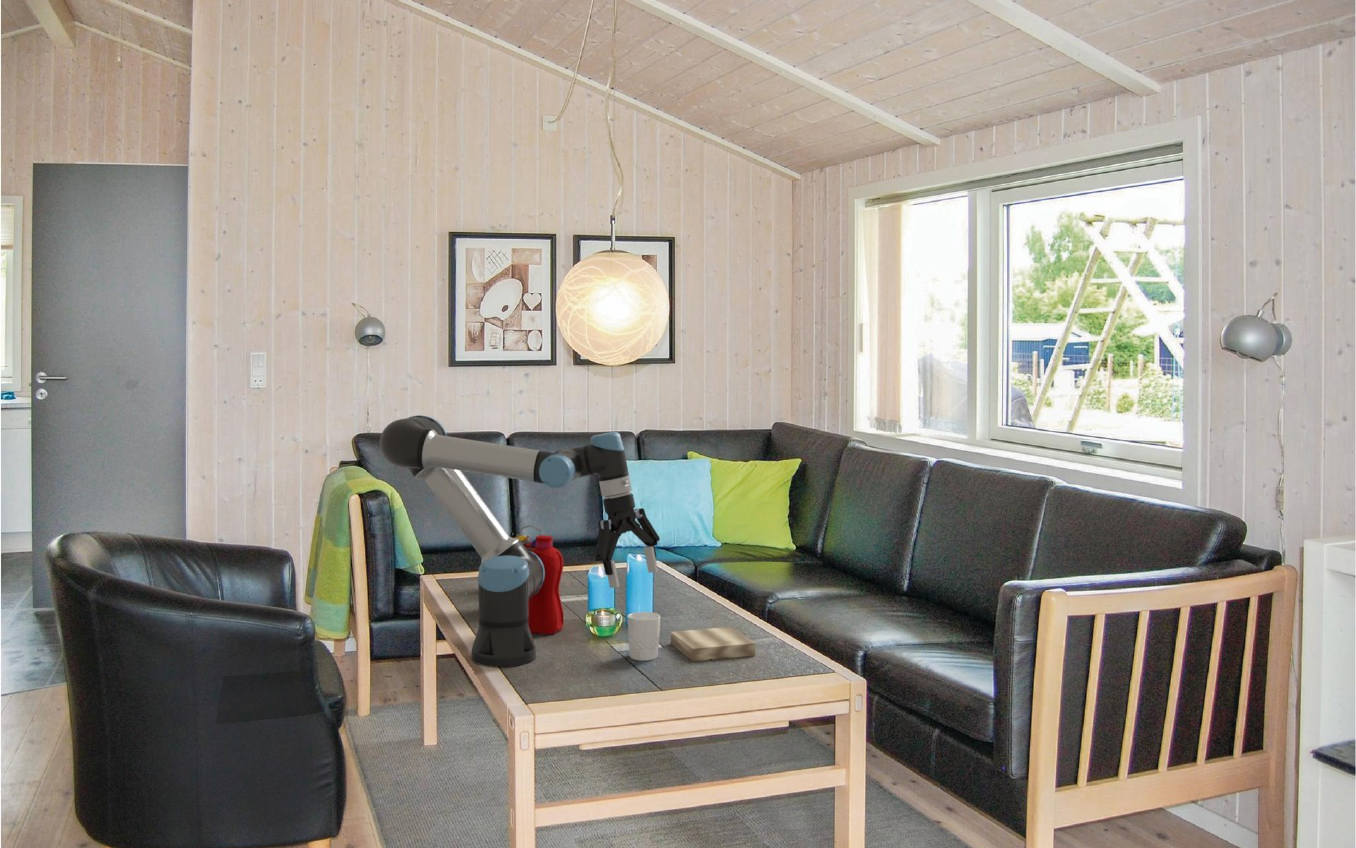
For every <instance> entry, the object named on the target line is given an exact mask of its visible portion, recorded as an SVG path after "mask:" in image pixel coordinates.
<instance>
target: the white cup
mask: <svg viewBox="0 0 1356 848" xmlns="http://www.w3.org/2000/svg"><path fill="white" fill-rule="evenodd" d="M660 630H661V615H660V614H659V613H658V612H657V613H656V612H651V611H650V612H649V611H637V612H632V613H629V614H627V633H628V634H627V637H628V638H627V639H628V648H629V649H628V650H629V651H628V652H629V653H628V654H629V658H630V659H631V660H635V661H640V662H641V661H653V660H656V659H657V658H658V657H659V645H660V634H661V633H660Z"/></svg>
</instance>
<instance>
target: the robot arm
mask: <svg viewBox="0 0 1356 848" xmlns="http://www.w3.org/2000/svg"><path fill="white" fill-rule="evenodd" d="M379 447H380V452H381V454H382V456H383V457H384V458H385V460H386V461H387V462H389V463H390V464H391V465H394V466H395V467H400V468H407V469H408V470H409V471H410V473H411V474H412V476H413V477H414V478H415V479H417V480H421V481H425V483H426V484H427V485H428V487H429V488H430V490H431V491H432V493H434V495H435V496H436V498H437V499H438V500H439V502H440V503H441V505H443V507H444V509H445V510H446V512H447V513H448V514H449V515H450V516H451V519H453V521H454V522H455V523H456V525H457V526H458V527H459V529H460V531H461V532H462V533H463V535H465V537H466V538H467V540H468V541H469V543H470V544H471V546H472V547H473V549H475V551H476V552H477V553H478V555H479V556H480V558H481V563H480V566H479V567H478V575H477V581H478V627H477V631H476V634H475V638H474V640H473V644H472V647H471V652H470V653H471V656H470V657H471V661H472V662H473V663H475V664H476V665H477V664H478V665H481V666H484V667H485V666H486V667H502V668H503V667H513V666H520V665H524V664H528V663H530V662H533V661H534V660H535V659H536V658H537V656H536V655H537V647H536V644H535V641H534V637H533V634H532V633H531V632H530V629H529V625H528V600H529V599H530V598H531V597H532V596H534V595H535V594H536V593H537V592H538V591H539V589H540V588H541V586H542V583H543V581H544V577H545V570H544V566H543V563H542V561H541V559H540V558H539V557H538V556H537V555H536V554H535V553H533V552H531V551H528V550H527V549H526V548H525V547H524V545H523V544H524V543H523V542H521V541H520V540H519V539H517V538H515V537H511V536H510V535H509V534H508V533H507V531H506V529H505V528H504V527H503V526H502V524H501V523H500V522H499V520H498V518H496V516H495V515H494V513H493V512H492V510H491V509H490V508H489V507H488V505H487V504H486V502H485V501H484V500H483V498H482V497H481V496H480V494H479V493H478V491H477V490H476V488H475V487H474V486H473V485H472V483H471V482H470V481H469V479H468V478H467V477H466V474H464V473H463V472H468V473H474V474H482V475H488V476H494V477H501V478H508V479H513V480H514V479H515V480H520V481H528V482H534V483H539V484H544V485H545V486H547V487H549V488H553V489H558V488H564V487H566V486H567V485H569V484H570V483H571V482H572V481H574V480H576V479H581V478H584V477H589V476H594V475H597V476H598V477H597V478H598V482H599V487H600V493H601V494H600V495H601V496H602V497H603V500H602V503H603V508H604V512H605V513H606V515H607V519H603V520H602V519H601V520H598V537H597V544H596V550H595V556H594V560H595V561H596V562H600V563H602V565H603V569H604V574H605V576H607V579H608V585H609V588H613V589H615V588H616V589H617V588H620V581H619V577H618V571H617V567H616V562H615V560H612V559H613V557H614V553H615V550H616V547H617V544H618V541H619V538H620V537H621V536H622V534H626V533H627V532H632V533H633V534H634V535H635V536H636V537H637V538H638V539H639V540H640V541H641V542H642V543H643V544H644V546H643V552H644V557H645V562H646V567H647V571H648V572H647V573H658V572H659V569H658V565H657V559H656V558H657V552H656V547H655V546H657V545H658V542H659V541H660V539H661V538H660V536H659V535H658V533H657V531H656V530H655V528H654V526H653V525H652V523H651V522H650V520H649V518H648V517H647V515H646V511H645V509H644V508H643V507H641V508H635V507H636V503H635V498H634V494H633V493H632V489H633V488H632V483H631V479H630V473H629V468H628V463H627V458H626V457H627V456H626V452H625V447H624V444H623V441H622V436H621V434H620V432H617V431H609V432H604V433H600V434H599V433H598V434H595V435H592V436H591V437H590V444H585V445H583V446H577V447H570V448H564V449H557V450H555V451H547V450H546V451H545V450H538V449H532V448H526V447H518V446H514V445H513V446H512V445H506V444H499V443H494V442H487V441H481V440H473V439H467V438H460V437H455V436H454V437H453V436H448V435H447V432H446V428H445V427H444V426H443V425H442V424H441V423H440V422H439V421H438V420H437V419H435V418H433V417H431V416H426V415H422V414H421V415H419V414H418V415H412V416H410V417H406V418H401V419H400V418H399V419H396V420H393V421H392V422H390V423H389V424H388V425H386V427H384V429H383V431H382V432H381V434H380V438H379Z"/></svg>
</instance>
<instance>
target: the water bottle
mask: <svg viewBox="0 0 1356 848" xmlns="http://www.w3.org/2000/svg"><path fill="white" fill-rule="evenodd" d="M535 539H536V548H534V549H533V550H531V552H533V553H535V554H536V555H537V556H538V557H539V558H540V559H541V561H542V563H543V566H544V570H545V577H544V581H543V583H542V586H541V588H540V589H539V591H538V592H537V593H536V594H535V595H534V596H532V597H531V598H530V599H529V600H528V625H529V629H530V632H531V634H532V635H545V636H548V635H555V634H557V633H558V632H560V630H562V629H563V626H564V621H565V620H564V609H563V605H562V601H561V596H560V584H561V579H562V574H563V570H564V557H563V556H562V553H561V552H560V551H559V550H558V548H555V547H553V544H554V543H553V536H551V535H542V534H541V535H540V534H539V535H536V536H535Z"/></svg>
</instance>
